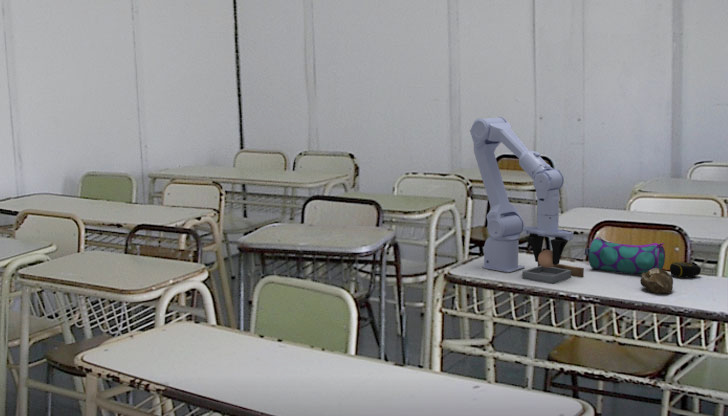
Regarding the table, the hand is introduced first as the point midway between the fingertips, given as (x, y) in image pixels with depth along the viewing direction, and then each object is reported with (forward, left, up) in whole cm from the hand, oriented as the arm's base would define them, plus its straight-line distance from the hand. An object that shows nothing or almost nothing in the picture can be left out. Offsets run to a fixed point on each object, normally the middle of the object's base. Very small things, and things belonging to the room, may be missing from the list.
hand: (547, 262), depth 230 cm
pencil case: (+13, +20, -5) cm, 24 cm away
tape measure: (+27, +26, -5) cm, 38 cm away
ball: (0, 0, +1) cm, 1 cm away
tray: (0, 0, -4) cm, 4 cm away
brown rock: (+28, +6, -5) cm, 29 cm away
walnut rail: (0, +7, -4) cm, 8 cm away
